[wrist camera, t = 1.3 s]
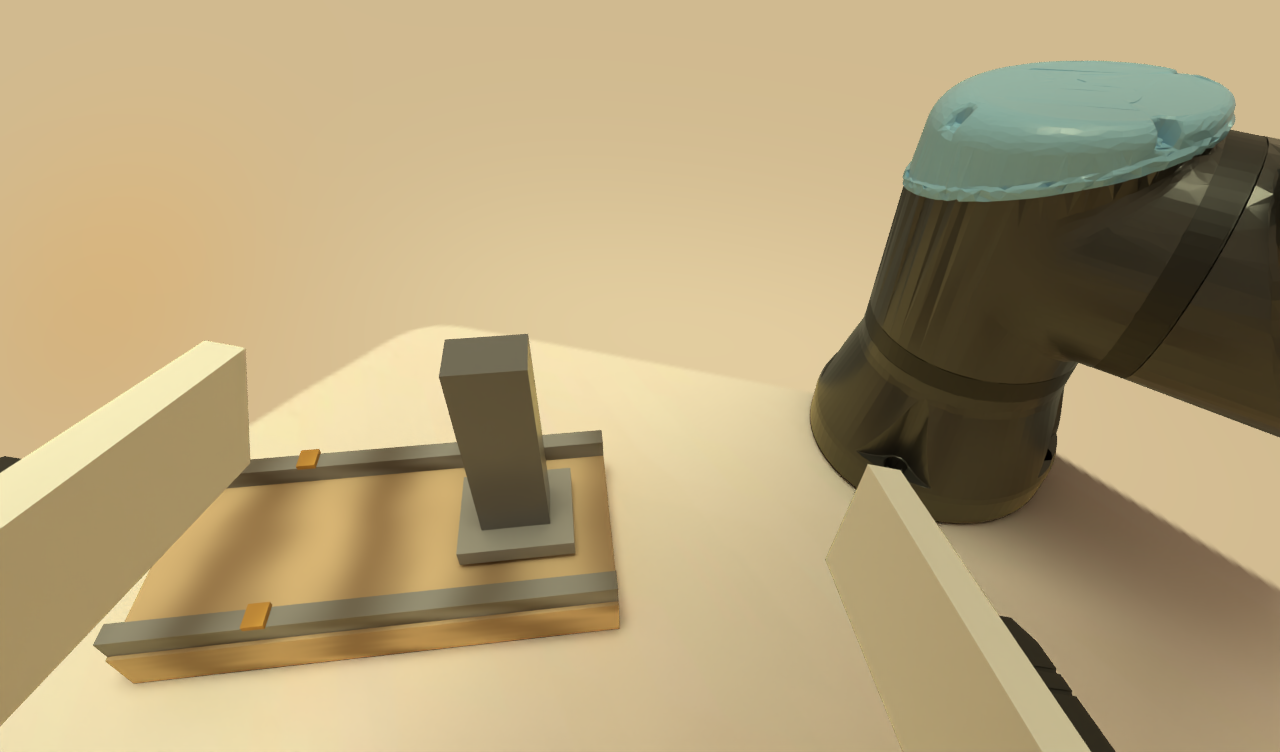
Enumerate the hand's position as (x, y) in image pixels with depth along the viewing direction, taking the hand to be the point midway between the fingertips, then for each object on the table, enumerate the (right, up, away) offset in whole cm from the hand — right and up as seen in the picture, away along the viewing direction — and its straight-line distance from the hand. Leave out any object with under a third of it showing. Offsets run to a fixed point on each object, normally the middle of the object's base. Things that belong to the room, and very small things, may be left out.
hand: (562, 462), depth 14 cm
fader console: (-12, -9, +23) cm, 27 cm away
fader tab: (-5, -6, +22) cm, 23 cm away
